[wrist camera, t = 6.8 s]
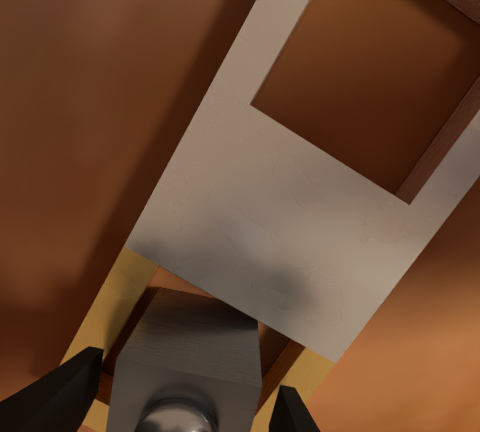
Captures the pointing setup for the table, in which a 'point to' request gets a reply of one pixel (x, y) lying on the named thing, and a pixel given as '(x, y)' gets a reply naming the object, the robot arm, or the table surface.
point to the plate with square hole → (280, 220)
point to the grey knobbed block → (187, 368)
